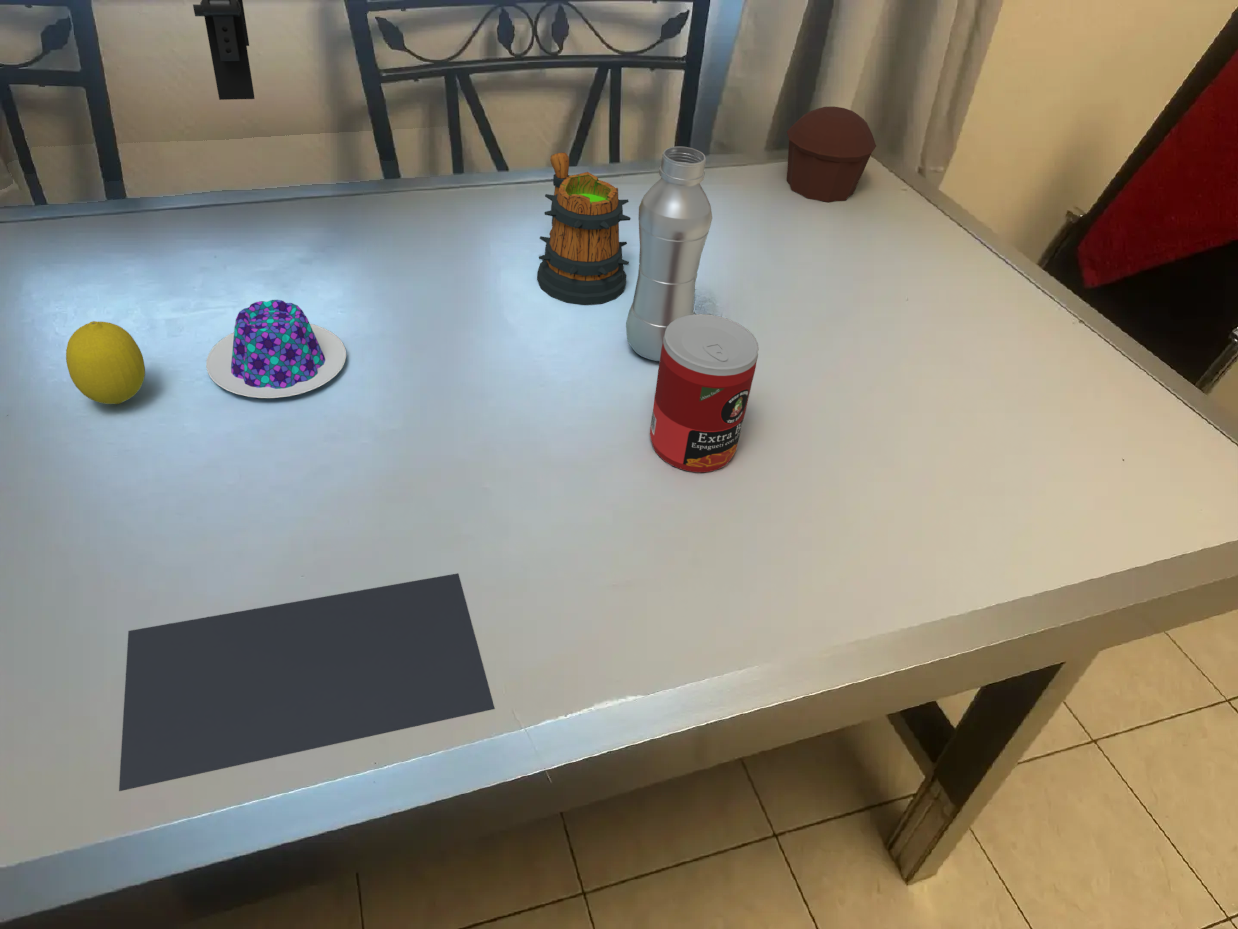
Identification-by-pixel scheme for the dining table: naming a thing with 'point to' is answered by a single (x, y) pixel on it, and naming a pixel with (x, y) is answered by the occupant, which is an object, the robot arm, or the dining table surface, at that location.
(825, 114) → the muffin
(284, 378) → the pudding
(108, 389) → the lemon
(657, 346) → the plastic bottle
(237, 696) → the dark gray placemat
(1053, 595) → the dining table surface
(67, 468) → the dining table surface
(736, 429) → the canned food
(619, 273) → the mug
